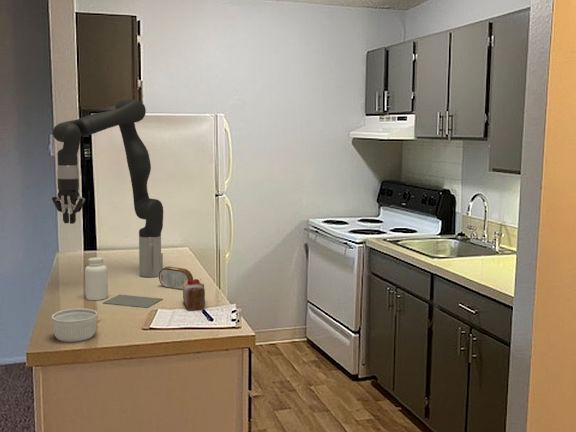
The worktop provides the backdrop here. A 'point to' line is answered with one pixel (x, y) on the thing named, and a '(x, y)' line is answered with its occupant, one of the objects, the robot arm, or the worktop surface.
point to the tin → (174, 277)
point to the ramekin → (74, 324)
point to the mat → (133, 301)
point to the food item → (194, 295)
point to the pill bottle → (96, 279)
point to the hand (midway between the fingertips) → (69, 223)
